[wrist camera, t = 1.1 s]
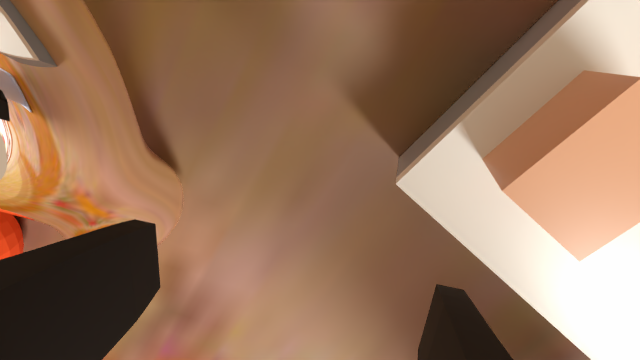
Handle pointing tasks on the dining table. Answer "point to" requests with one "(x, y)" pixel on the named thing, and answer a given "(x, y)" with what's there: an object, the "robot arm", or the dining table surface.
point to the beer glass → (73, 127)
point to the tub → (487, 80)
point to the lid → (554, 178)
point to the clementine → (10, 236)
